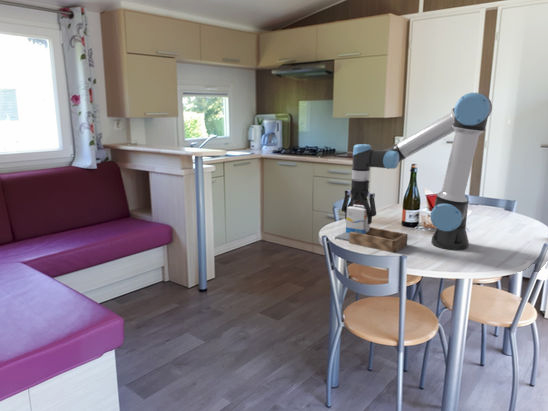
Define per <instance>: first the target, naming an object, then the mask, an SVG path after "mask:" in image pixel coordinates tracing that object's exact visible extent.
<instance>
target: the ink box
mask: <svg viewBox="0 0 548 411" xmlns="http://www.w3.org/2000/svg"><path fill="white" fill-rule="evenodd" d="M369 207H370V205H369ZM370 209H371V208H370ZM366 217H367V213H366V209H365V208H364V206H363V205H353V206H350V207H348V206H347V217H346V220H345V232H346V233H350V232H355V233H360V234H365V233H367V232H368V231H365V225H366Z"/></svg>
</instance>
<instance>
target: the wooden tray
mask: <svg viewBox="0 0 548 411" xmlns="http://www.w3.org/2000/svg"><path fill="white" fill-rule="evenodd" d="M408 236H409V235H408V233H404V232H398V231H395V230H394V231H392V230H388V229H382V228H378V227H372V226H370V229H369V231H368V232H367V233H365V234H360V233H355V232H350V241H348V243H349V244H352V245H356V246H362V247H365V248H369V249H370V248H371V249H376V250H378V251H379V250H380V251H384V252H388V253H393V254H395V253H396V252H398V251H399V250H401V249H403V248H404V247H406V246H407V244H408Z"/></svg>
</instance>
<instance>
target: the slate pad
mask: <svg viewBox="0 0 548 411" xmlns="http://www.w3.org/2000/svg"><path fill="white" fill-rule="evenodd" d="M334 239H335V240H341V241H346V242H349V241H350V233H346V231H345V232H343V233H340V234H338V235H336V236H334Z"/></svg>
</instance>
